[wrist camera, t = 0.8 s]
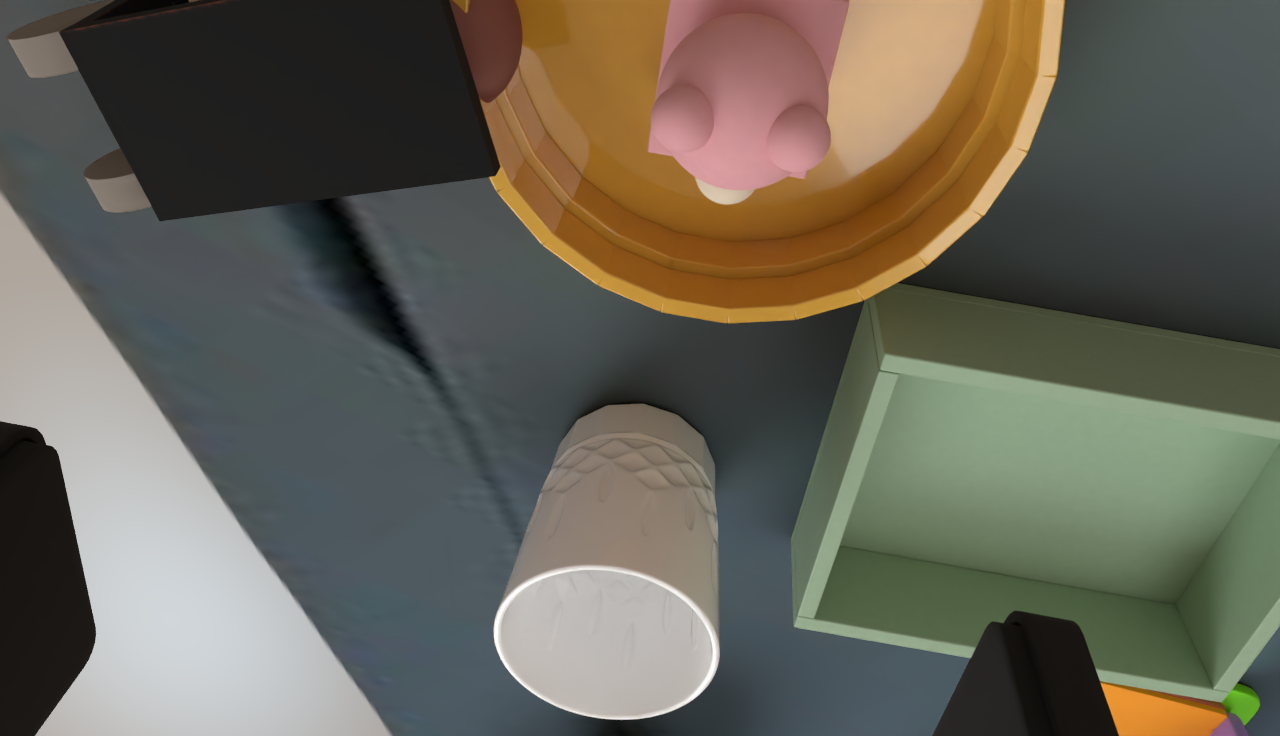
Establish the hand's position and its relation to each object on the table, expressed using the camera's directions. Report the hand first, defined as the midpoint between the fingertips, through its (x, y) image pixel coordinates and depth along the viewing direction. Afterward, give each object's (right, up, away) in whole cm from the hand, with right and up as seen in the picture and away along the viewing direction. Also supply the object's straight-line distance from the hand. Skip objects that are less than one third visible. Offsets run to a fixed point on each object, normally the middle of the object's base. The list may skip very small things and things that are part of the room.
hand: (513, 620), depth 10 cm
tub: (+17, -1, +30) cm, 35 cm away
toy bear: (+5, +13, +22) cm, 26 cm away
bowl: (+5, +14, +22) cm, 26 cm away
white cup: (+1, -2, +33) cm, 33 cm away
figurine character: (-9, +14, +24) cm, 29 cm away
